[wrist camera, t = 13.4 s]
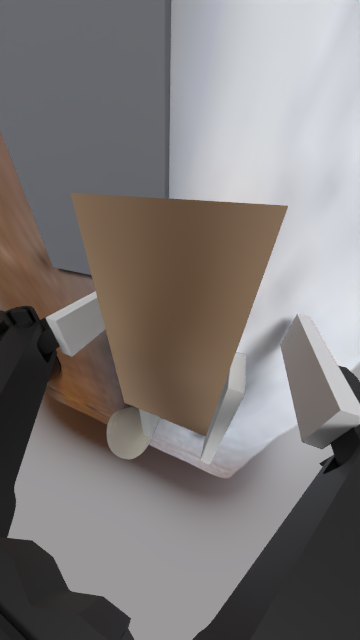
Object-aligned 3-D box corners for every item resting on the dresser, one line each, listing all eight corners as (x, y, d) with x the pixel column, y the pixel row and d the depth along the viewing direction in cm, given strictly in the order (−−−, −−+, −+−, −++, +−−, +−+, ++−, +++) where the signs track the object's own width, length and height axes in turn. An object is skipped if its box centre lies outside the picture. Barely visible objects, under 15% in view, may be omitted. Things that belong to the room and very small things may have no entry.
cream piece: (127, 391, 27) (97, 435, 21) (165, 415, 27) (144, 465, 21) (119, 405, 31) (92, 445, 26) (152, 426, 31) (132, 470, 26)
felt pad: (58, 265, 17) (53, 267, 16) (-39, -1, 9) (-55, -13, 8) (167, 287, 14) (164, 290, 13) (172, -84, 6) (165, -110, 5)
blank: (172, 327, 16) (124, 402, 10) (178, 203, 10) (69, 192, 4) (224, 341, 15) (205, 436, 9) (261, 208, 9) (287, 206, 3)
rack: (156, 410, 27) (143, 437, 23) (151, 329, 17) (129, 356, 14) (213, 433, 24) (208, 466, 21) (245, 354, 15) (245, 393, 12)
